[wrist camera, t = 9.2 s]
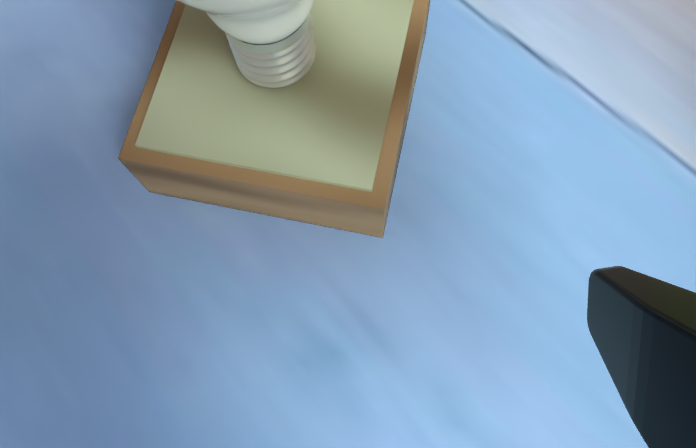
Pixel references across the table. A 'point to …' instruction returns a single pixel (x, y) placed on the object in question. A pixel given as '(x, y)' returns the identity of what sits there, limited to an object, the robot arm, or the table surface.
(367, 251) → the table surface
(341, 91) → the pedestal
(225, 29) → the lightbulb
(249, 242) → the table surface
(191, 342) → the table surface
